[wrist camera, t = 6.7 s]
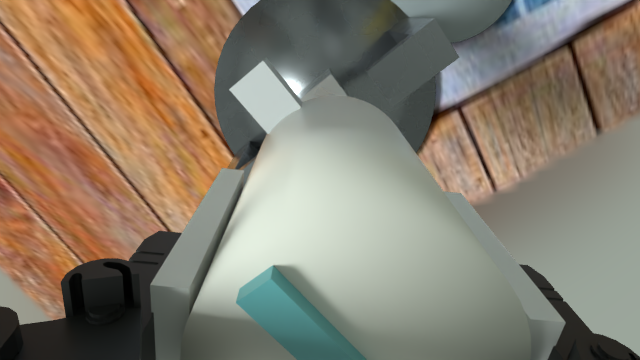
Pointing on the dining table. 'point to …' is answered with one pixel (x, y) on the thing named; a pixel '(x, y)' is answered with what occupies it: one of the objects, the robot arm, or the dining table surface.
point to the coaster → (456, 14)
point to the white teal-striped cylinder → (346, 248)
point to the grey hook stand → (333, 63)
